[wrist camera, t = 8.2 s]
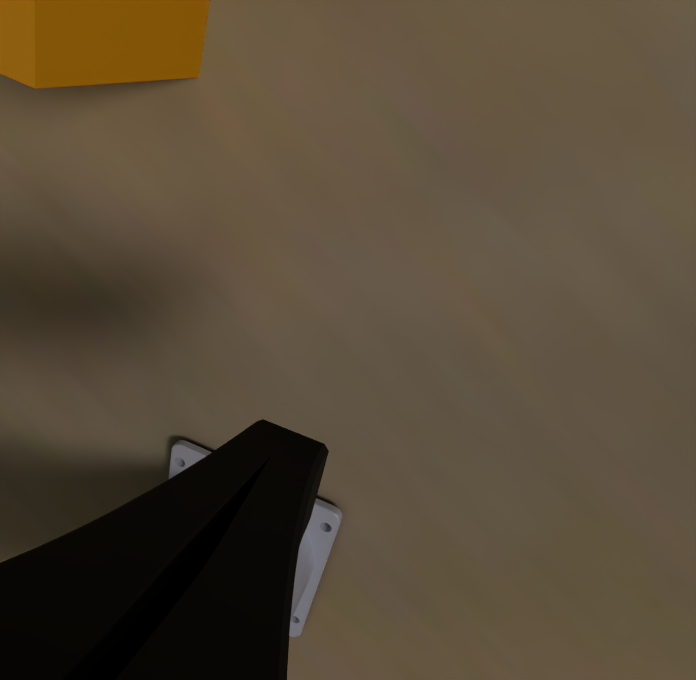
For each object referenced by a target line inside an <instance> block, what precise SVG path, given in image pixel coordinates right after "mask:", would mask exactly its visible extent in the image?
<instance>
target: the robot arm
mask: <svg viewBox="0 0 696 680" xmlns="http://www.w3.org/2000/svg"><path fill="white" fill-rule="evenodd" d="M328 452H329V451H328V449H327V447H326V446H325V444H323V443H321V442H318V441H316V440H313V439H311V438H308V437H306V436H303V435H301V434H298V433H296V432H293V431H291V430H288V429H286V428H283V427H281V426H278V425H276V424H273V423H271V422H268V421H266V420H263V419H262V420H260V421H257V422H255V423H254V424H253V425H251V426H250V427H248V428H247V429H245V430H244V431H243V432H241V433H240V434H238V435H237V436H235V437H234V438H233V439H231V440H230V441H228V442H227V443H225V444H224V445H222V446H221V447H219V448H218V449H216V450H215V451H213V452H210V451H208V450H206V449H203V448H201V447H199V446H197V445H194V444H192V443H190V442H188V441H184V440H179V441H177V442H176V443H175V444H174V445H173V446H172V449H171V459H170V469H169V479H168V480H167V481H165V482H164V483H162V484H160V485H159V486H157V487H155V488H153V489H152V490H150V491H148V492H146V493H144V494H142V495H141V496H139V497H137V498H135V499H133V500H132V501H130V502H128V503H126V504H124V505H123V506H121V507H119V508H117V509H115V510H113V511H112V512H110V513H108V514H106V515H104V516H102V517H100V518H98V519H96V520H94V521H92V522H90V523H88V524H86V525H84V526H82V527H80V528H78V529H76V530H74V531H72V532H70V533H67V534H65V535H63V536H61V537H59V538H57V539H54V540H52V541H50V542H48V543H46V544H44V545H41V546H39V547H37V548H35V549H32V550H30V551H27V552H25V553H23V554H20V555H18V556H16V557H13V558H11V559H8V560H6V561H4V562H1V563H0V680H287V664H288V648H289V636H292V637H297V636H299V635H300V634H301V631H302V629H303V626H304V623H305V621H306V618H307V615H308V612H309V610H310V607H311V604H312V601H313V598H314V596H315V593H316V590H317V587H318V584H319V582H320V579H321V576H322V573H323V570H324V568H325V565H326V562H327V559H328V556H329V554H330V551H331V548H332V545H333V542H334V540H335V537H336V534H337V531H338V528H339V526H340V523H341V520H342V513H341V511H340V510H339V509H338V508H337V507H335V506H333V505H331V504H329V503H326V502H324V501H322V500H320V499H317V498H316V496H317V493H318V489H319V485H320V482H321V478H322V474H323V470H324V467H325V463H326V459H327V456H328ZM182 459H183V460H182ZM326 523H327V524H329V525H327V524H326Z"/></svg>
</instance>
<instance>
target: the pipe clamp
mask: <svg viewBox="0 0 696 680" xmlns="http://www.w3.org/2000/svg"><path fill="white" fill-rule="evenodd" d="M209 3H210V0H0V74H2V75H4V76H7V77H9V78H11V79H14V80H16V81H18V82H21V83H23V84H25V85H28V86H30V87H32V88H35V89H38V88H53V87H67V86H82V85H96V84H111V83H126V82H140V81H155V80H169V79H184V78H198V77H199V72H200V65H201V58H202V51H203V45H204V38H205V31H206V24H207V17H208V10H209Z"/></svg>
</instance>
